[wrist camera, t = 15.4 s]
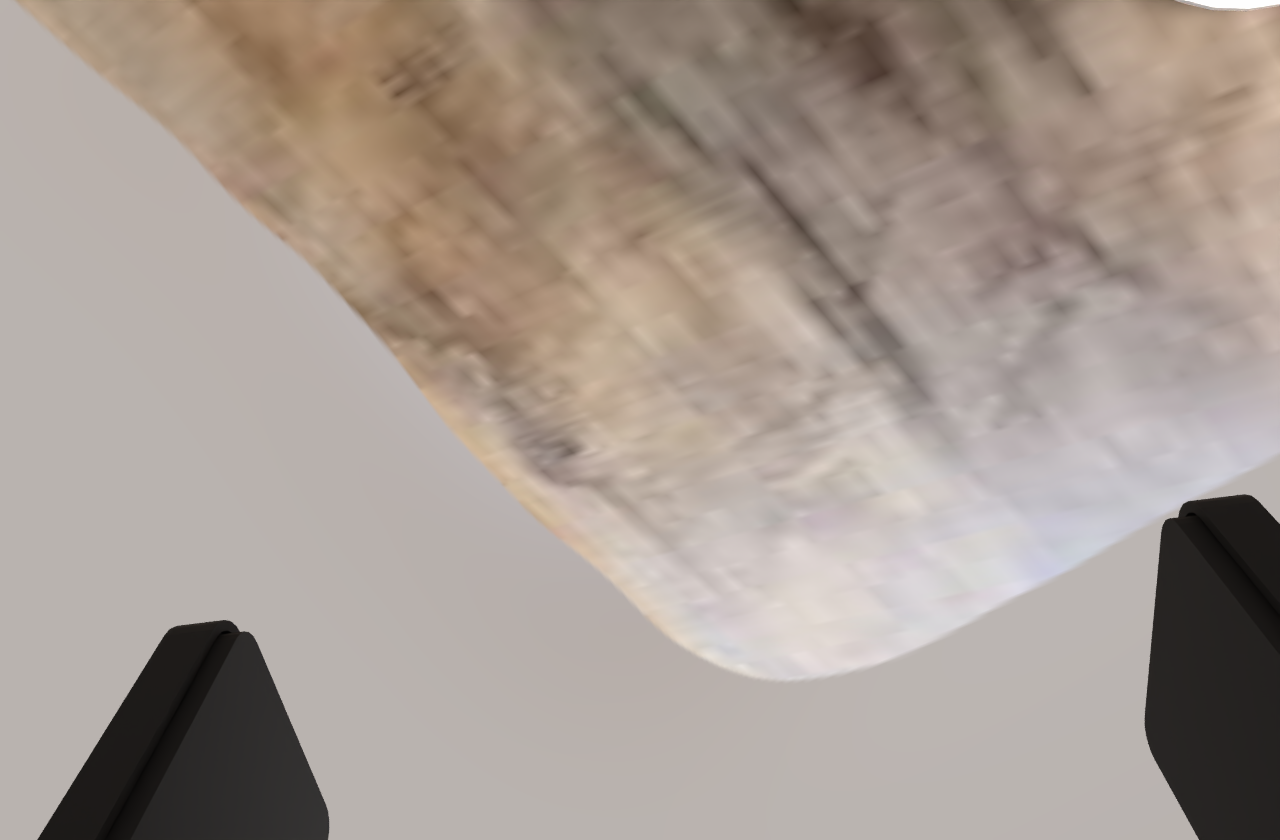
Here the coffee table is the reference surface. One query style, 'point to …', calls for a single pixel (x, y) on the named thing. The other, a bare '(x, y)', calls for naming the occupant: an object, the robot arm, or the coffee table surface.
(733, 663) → the coffee table surface
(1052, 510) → the coffee table surface
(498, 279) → the coffee table surface
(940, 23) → the coffee table surface
